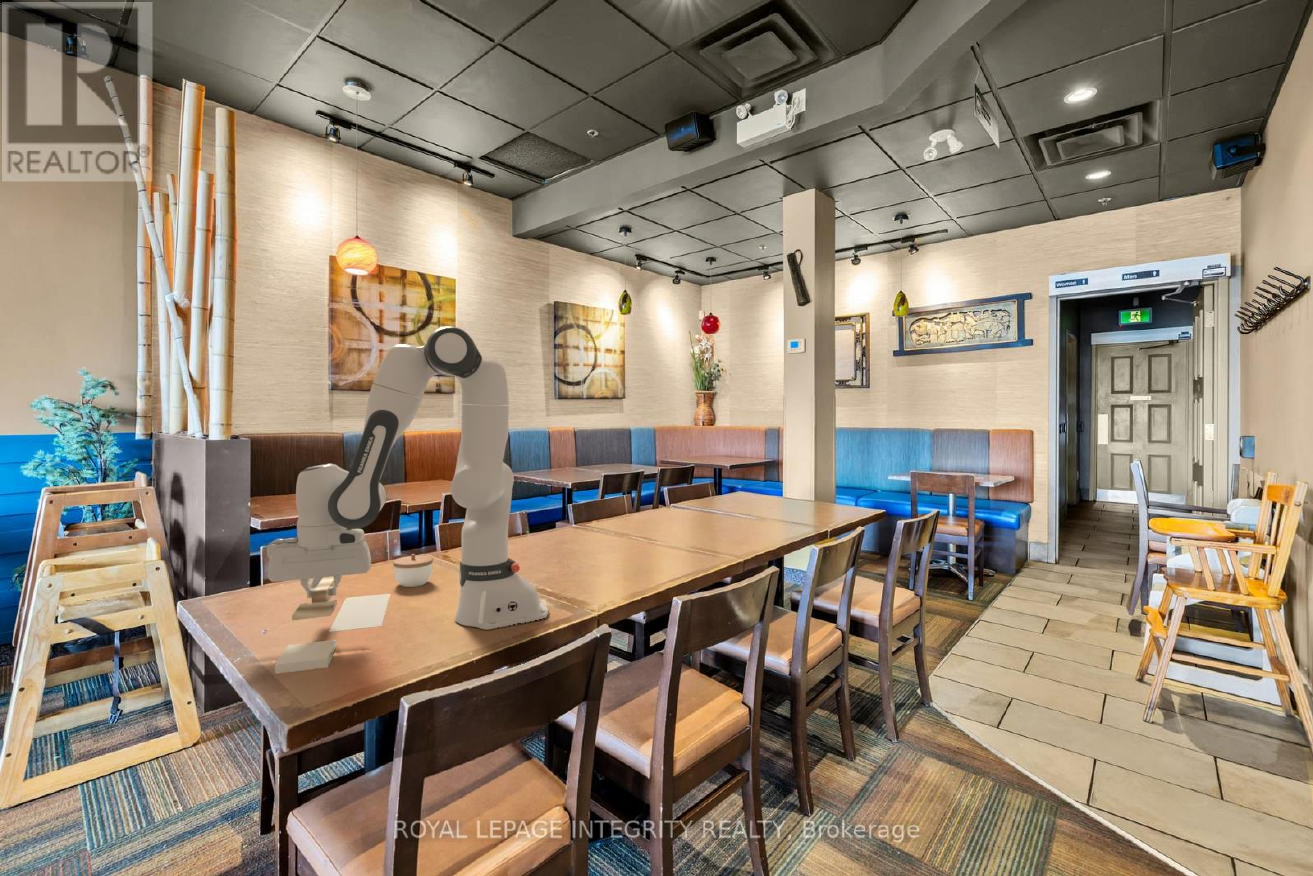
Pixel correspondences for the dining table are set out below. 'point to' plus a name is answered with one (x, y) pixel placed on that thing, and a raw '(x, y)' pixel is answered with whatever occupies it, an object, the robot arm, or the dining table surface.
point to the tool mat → (361, 612)
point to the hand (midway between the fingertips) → (322, 596)
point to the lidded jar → (413, 570)
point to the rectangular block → (305, 656)
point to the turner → (318, 602)
